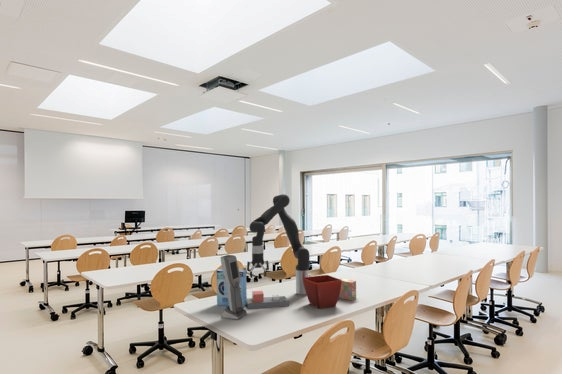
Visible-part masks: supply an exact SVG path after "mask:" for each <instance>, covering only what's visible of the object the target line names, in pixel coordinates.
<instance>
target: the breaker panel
mask: <svg viewBox="0 0 562 374" xmlns="http://www.w3.org/2000/svg"><path fill="white" fill-rule="evenodd" d="M279 297H280V300H275V301H273V299H272V296H266V297H265V296H264V302H253V299H252V297H250V298H248V297H247V305H246V307H247V309H261V308H274V307H289V299H287V297H286V296H285V295H281V296H280V295H279Z"/></svg>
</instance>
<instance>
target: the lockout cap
mask: <svg viewBox="0 0 562 374" xmlns="http://www.w3.org/2000/svg"><path fill="white" fill-rule="evenodd" d="M251 294H252V295H251V296H252V297H251V298H252V299H253V302H264V297H265V296H264V295H265V294H264V292H263V290H252V292H251Z"/></svg>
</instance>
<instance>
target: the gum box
mask: <svg viewBox="0 0 562 374" xmlns="http://www.w3.org/2000/svg"><path fill="white" fill-rule="evenodd" d="M239 273H240V277H241V282H240V284H239V289H240V294H241V299H242V304H243V308H245V307H247V298H248V297H247V296H248V295H247V269H239ZM224 279H225V278H224V274H223V270H222V268H218V269H217V270H216V305H217V306H224V307H225V306H226V307H228V306H229V301H228V295H227V286H226V282H225V281H224Z"/></svg>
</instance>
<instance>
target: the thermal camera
mask: <svg viewBox="0 0 562 374" xmlns="http://www.w3.org/2000/svg"><path fill="white" fill-rule="evenodd" d="M220 263H221V269H222V270H223V274H224V278H225V279H224V281H225V282H226V286H227V295H228V301H229V306H226V308H225V309H224V310H223V312H222V313H221V318H223V319H231V320H237V321H238V320H240V319H241V318H243V317H244V316H246V315H247V314H248V313H247V310H246V309H245V308H244V307H243V304H242V299H241V294H240V289H239V284H240V282H241V277H240V273H239V270H240V269H239V265H238V261H237V257H236V256H235V255H233V254H227V255H224V256H220Z"/></svg>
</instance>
